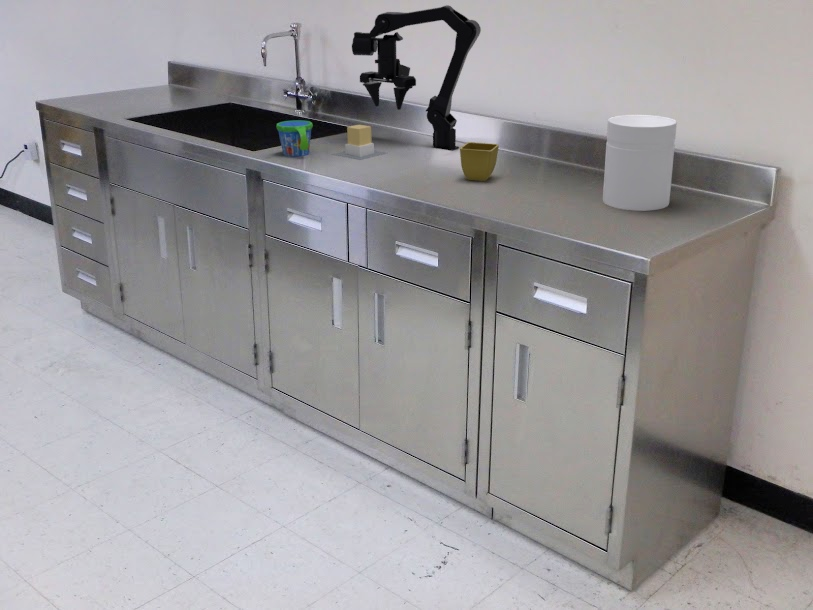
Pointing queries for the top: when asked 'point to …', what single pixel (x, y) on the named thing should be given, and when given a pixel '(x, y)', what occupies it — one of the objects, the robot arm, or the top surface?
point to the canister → (639, 162)
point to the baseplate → (343, 154)
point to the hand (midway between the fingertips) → (388, 107)
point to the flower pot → (478, 160)
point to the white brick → (359, 149)
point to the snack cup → (295, 137)
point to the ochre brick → (359, 135)
